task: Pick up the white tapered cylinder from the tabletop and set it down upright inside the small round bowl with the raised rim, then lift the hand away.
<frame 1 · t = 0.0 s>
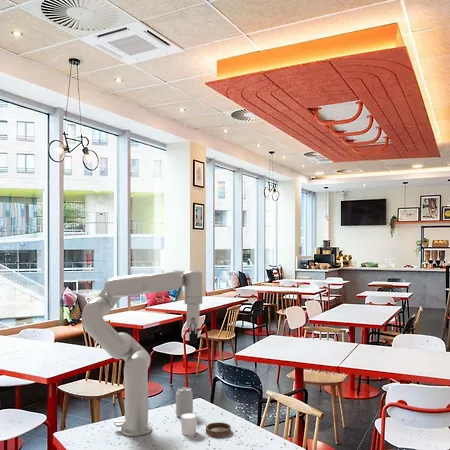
hand: (193, 341, 204), 37 cm above the table, tool pointing down, fingers open, 9 cm apart
round bowl: (218, 432, 200), on the table
white tapered cylinder: (189, 433, 200), on the table
can: (184, 416, 220), on the table
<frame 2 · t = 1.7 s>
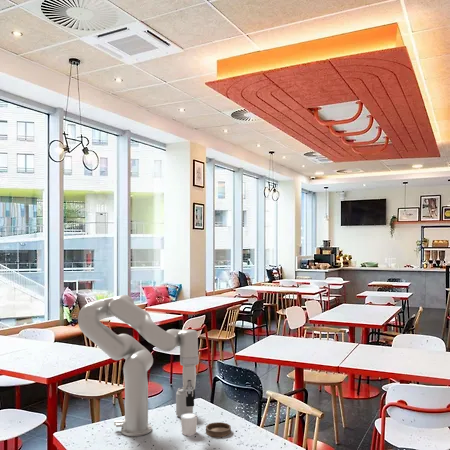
hand: (190, 402, 200), 12 cm above the table, tool pointing down, fingers open, 9 cm apart
nothing on the table moved.
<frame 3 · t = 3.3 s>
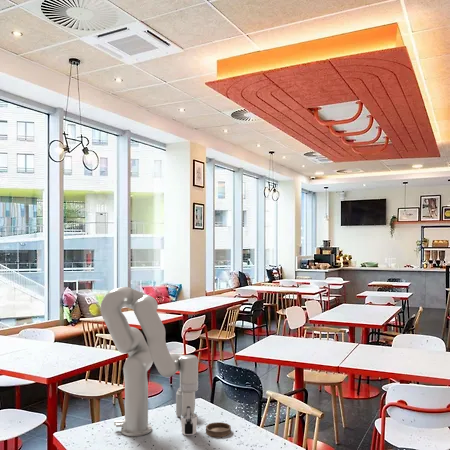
hand: (189, 429, 200), 1 cm above the table, tool pointing down, fingers closed on white tapered cylinder, 6 cm apart
white tapered cylinder: (189, 433, 200), on the table, touching gripper
everything else where it was.
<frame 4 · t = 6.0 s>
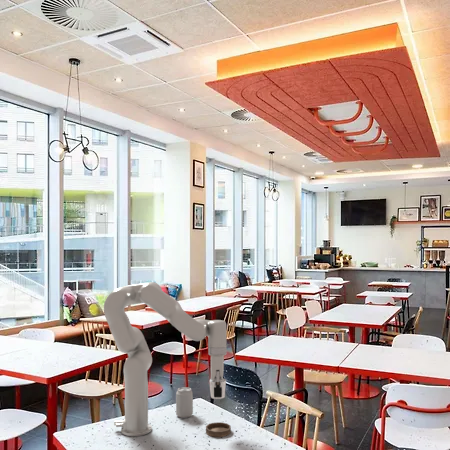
hand: (217, 394, 201), 16 cm above the table, tool pointing down, fingers closed on white tapered cylinder, 6 cm apart
white tapered cylinder: (217, 397, 201), point 14 cm above the table, touching gripper
everything else where it was.
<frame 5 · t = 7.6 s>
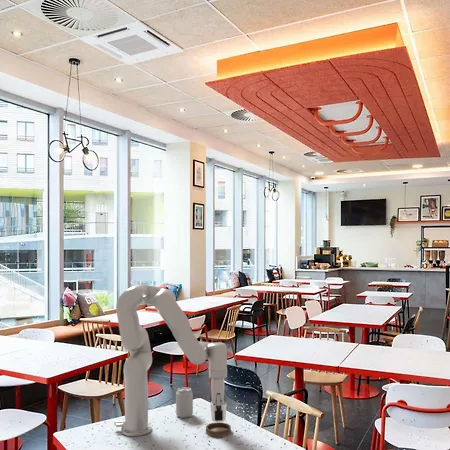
hand: (218, 416, 201), 6 cm above the table, tool pointing down, fingers closed on white tapered cylinder, 6 cm apart
white tapered cylinder: (218, 420, 200), point 5 cm above the table, touching gripper
everything else where it was.
when the fingers open (3 cm above the table, at t = 8.8 s): white tapered cylinder drops 1 cm, resting on round bowl.
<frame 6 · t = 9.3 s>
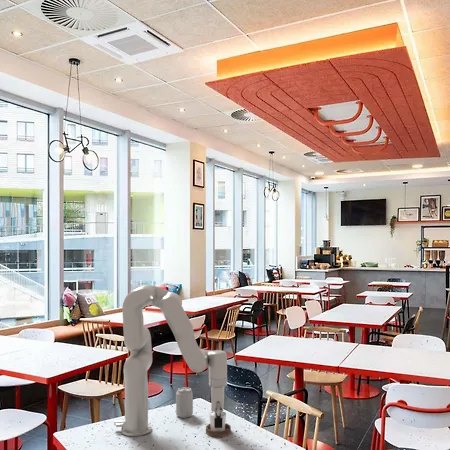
hand: (218, 423, 200), 4 cm above the table, tool pointing down, fingers open, 9 cm apart
white tapered cylinder: (217, 431, 200), resting on round bowl
everything else where it was.
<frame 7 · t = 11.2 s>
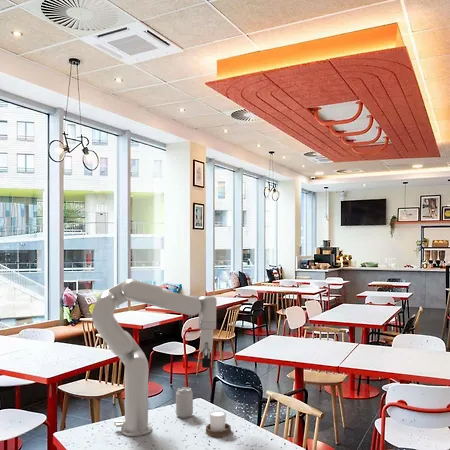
hand: (206, 364, 210), 25 cm above the table, tool pointing down, fingers open, 9 cm apart
nothing on the table moved.
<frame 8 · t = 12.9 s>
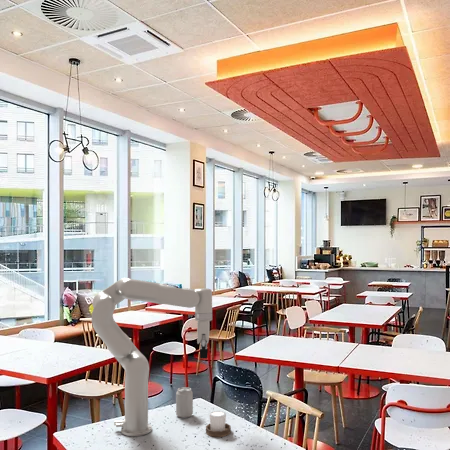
hand: (203, 355, 214), 28 cm above the table, tool pointing down, fingers open, 9 cm apart
nothing on the table moved.
at the end: white tapered cylinder 0.2 cm off-centre on the round bowl, point 0.4 cm above the round bowl's base; white tapered cylinder tilted 0°; the gripper is holding nothing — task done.
